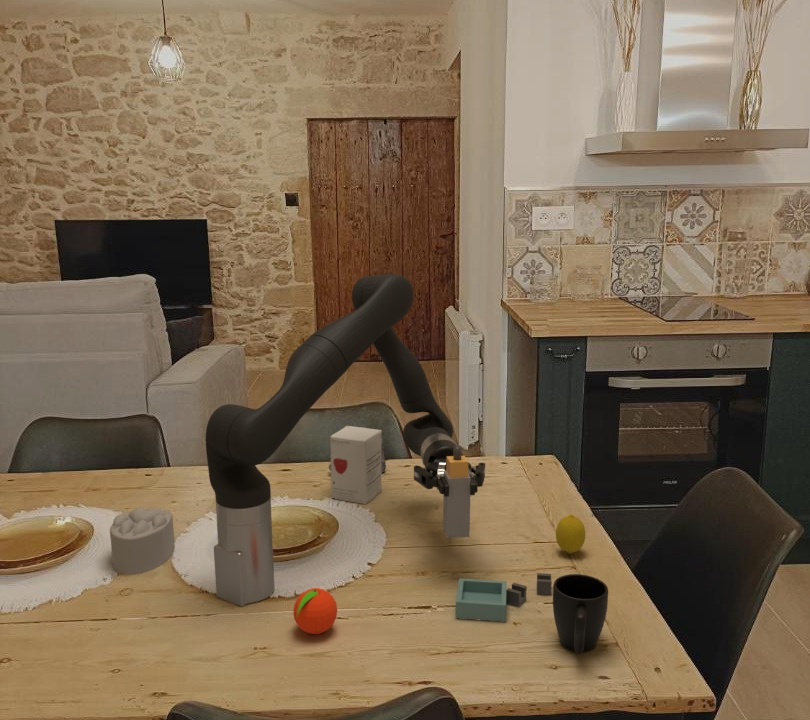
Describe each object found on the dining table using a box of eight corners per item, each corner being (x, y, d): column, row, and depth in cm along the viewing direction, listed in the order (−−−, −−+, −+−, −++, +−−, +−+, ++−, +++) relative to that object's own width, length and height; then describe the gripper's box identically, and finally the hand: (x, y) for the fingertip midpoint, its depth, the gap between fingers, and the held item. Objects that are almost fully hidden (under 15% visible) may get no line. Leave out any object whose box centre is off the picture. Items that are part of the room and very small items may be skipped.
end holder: (505, 622, 130) (506, 605, 130) (455, 618, 131) (455, 602, 131) (506, 597, 138) (506, 581, 138) (459, 594, 139) (459, 578, 139)
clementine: (315, 651, 123) (314, 608, 121) (280, 637, 126) (278, 596, 125) (346, 626, 129) (345, 586, 128) (312, 614, 133) (311, 575, 131)
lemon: (584, 561, 151) (586, 522, 149) (554, 558, 152) (556, 519, 151) (584, 548, 156) (586, 510, 155) (555, 546, 158) (557, 508, 156)
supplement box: (329, 499, 181) (328, 435, 178) (347, 485, 189) (346, 424, 186) (366, 505, 178) (365, 440, 174) (382, 491, 186) (382, 429, 183)
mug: (547, 668, 118) (549, 609, 116) (552, 625, 130) (555, 571, 127) (604, 676, 116) (608, 616, 114) (605, 631, 128) (608, 576, 126)
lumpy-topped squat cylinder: (180, 544, 159) (177, 503, 157) (157, 575, 146) (154, 531, 144) (128, 543, 159) (125, 502, 157) (101, 574, 147) (97, 530, 145)
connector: (469, 536, 142) (471, 450, 138) (447, 537, 141) (448, 451, 138) (464, 527, 145) (466, 442, 142) (442, 528, 145) (444, 443, 141)
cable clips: (535, 612, 133) (535, 598, 133) (505, 603, 136) (506, 589, 136) (557, 588, 141) (557, 575, 141) (528, 580, 144) (529, 567, 143)
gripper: (405, 440, 153) (419, 472, 137) (478, 437, 155) (501, 468, 139) (405, 477, 155) (419, 513, 138) (477, 474, 157) (499, 509, 140)
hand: (460, 490), depth 139 cm, fingers closed on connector, 4 cm apart
